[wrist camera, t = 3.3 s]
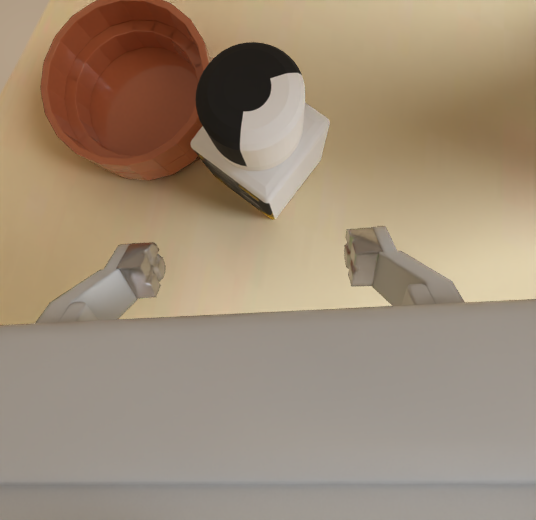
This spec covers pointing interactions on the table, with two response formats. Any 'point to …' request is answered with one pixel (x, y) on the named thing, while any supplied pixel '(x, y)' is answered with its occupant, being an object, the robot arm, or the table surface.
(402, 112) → the table surface
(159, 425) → the robot arm
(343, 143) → the table surface
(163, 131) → the bowl
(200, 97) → the medicine bottle
